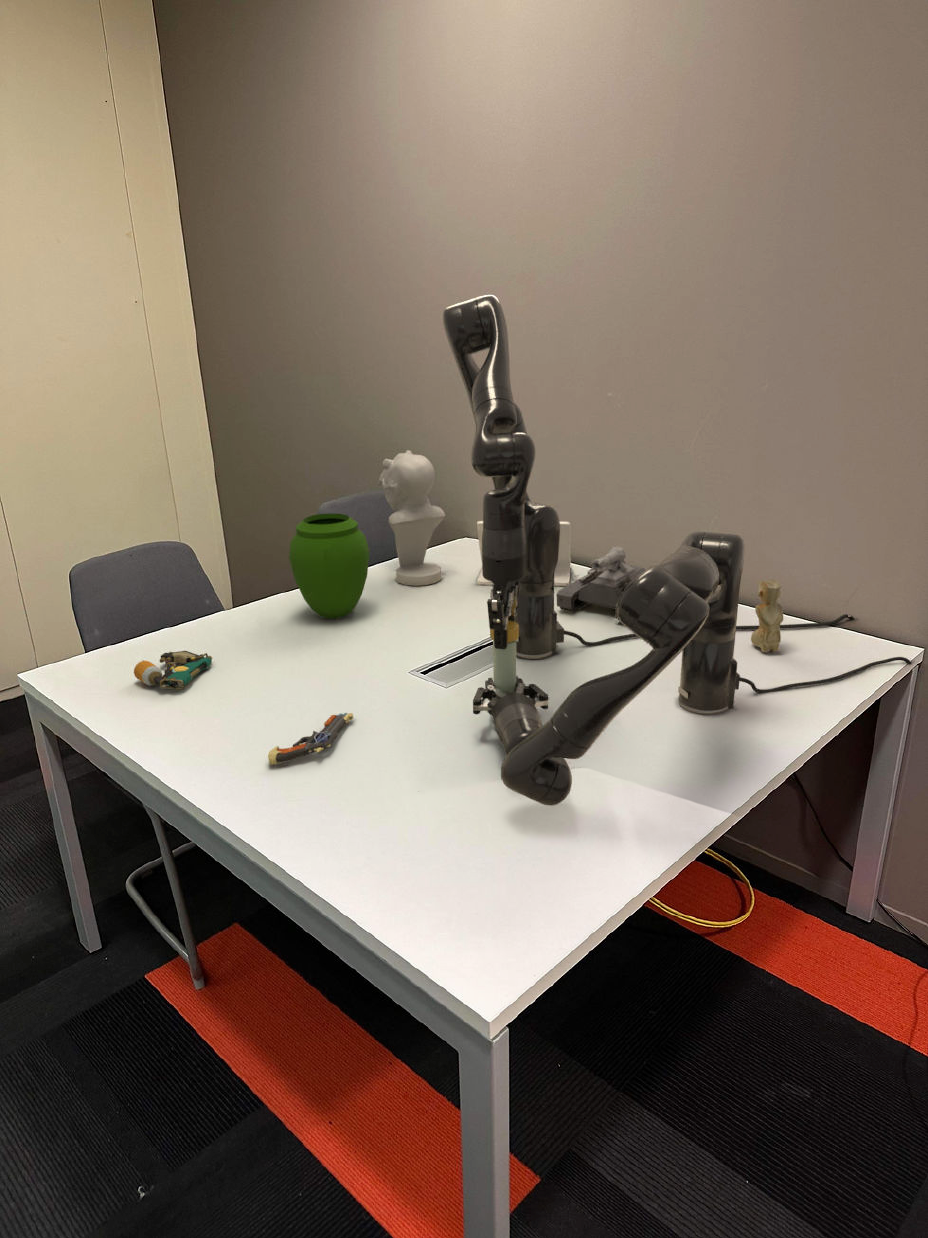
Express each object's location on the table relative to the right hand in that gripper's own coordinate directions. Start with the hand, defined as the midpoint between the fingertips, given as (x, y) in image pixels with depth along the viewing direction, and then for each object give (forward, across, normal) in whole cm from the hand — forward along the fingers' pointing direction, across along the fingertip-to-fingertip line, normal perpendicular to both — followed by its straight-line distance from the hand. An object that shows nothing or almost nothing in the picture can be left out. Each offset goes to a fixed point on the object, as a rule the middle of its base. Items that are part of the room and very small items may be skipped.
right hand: (502, 681), depth 158 cm
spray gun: (+28, +65, +7) cm, 71 cm away
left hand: (-3, 0, -9) cm, 9 cm away
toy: (+54, -37, +7) cm, 66 cm away
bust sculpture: (+87, +13, +7) cm, 89 cm away
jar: (-3, 0, +7) cm, 7 cm away
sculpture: (+21, -61, +6) cm, 65 cm away
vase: (+61, +33, +7) cm, 69 cm away
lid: (-3, 0, -12) cm, 12 cm away
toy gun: (-6, +35, +7) cm, 36 cm away
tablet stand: (+82, -19, +7) cm, 85 cm away
